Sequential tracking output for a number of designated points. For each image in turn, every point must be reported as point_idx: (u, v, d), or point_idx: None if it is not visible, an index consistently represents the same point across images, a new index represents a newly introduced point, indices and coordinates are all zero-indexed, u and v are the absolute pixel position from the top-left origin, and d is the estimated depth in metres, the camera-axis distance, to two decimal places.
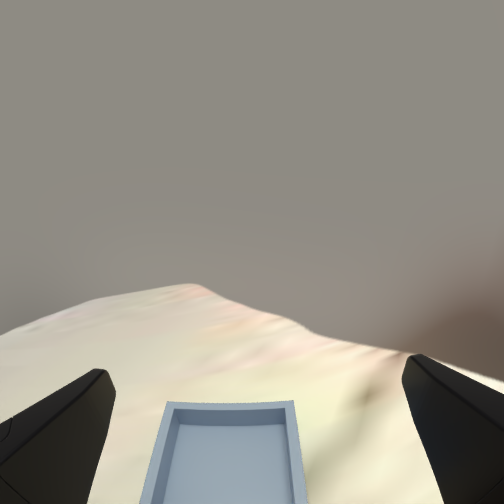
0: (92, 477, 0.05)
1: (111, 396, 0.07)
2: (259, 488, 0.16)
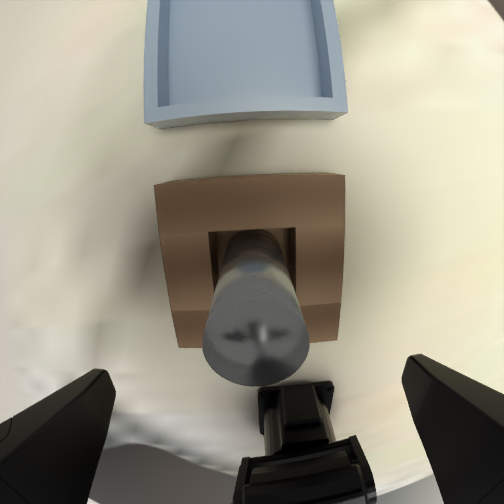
0: (92, 476, 0.05)
1: (111, 396, 0.07)
2: (280, 38, 0.15)
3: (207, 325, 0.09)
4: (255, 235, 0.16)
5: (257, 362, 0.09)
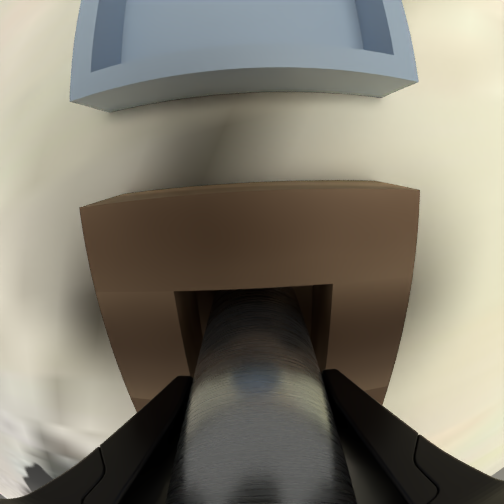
0: None
1: None
2: None
3: None
4: (259, 292, 0.09)
5: None
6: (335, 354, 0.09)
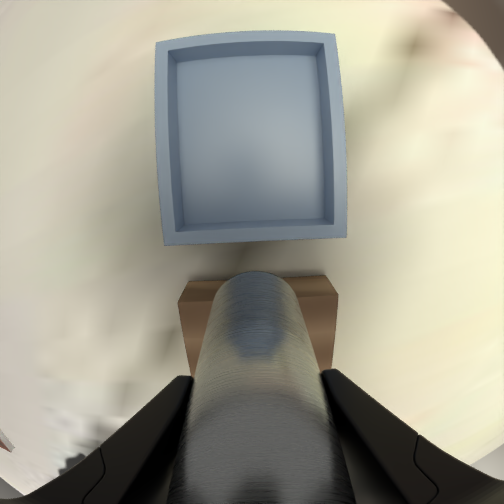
0: None
1: None
2: (288, 147, 0.18)
3: None
4: (259, 293, 0.09)
5: None
6: None
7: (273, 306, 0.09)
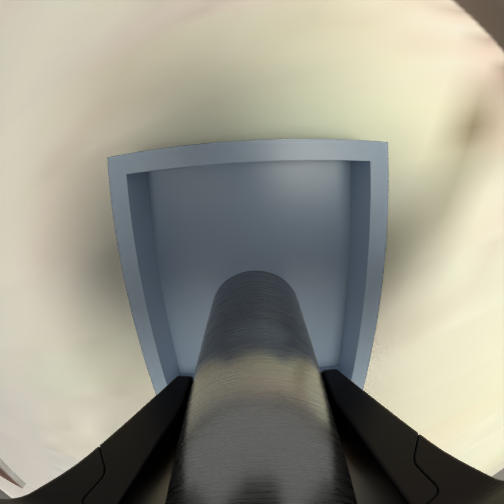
0: None
1: None
2: (303, 297, 0.14)
3: None
4: (259, 293, 0.09)
5: None
6: None
7: (273, 305, 0.09)
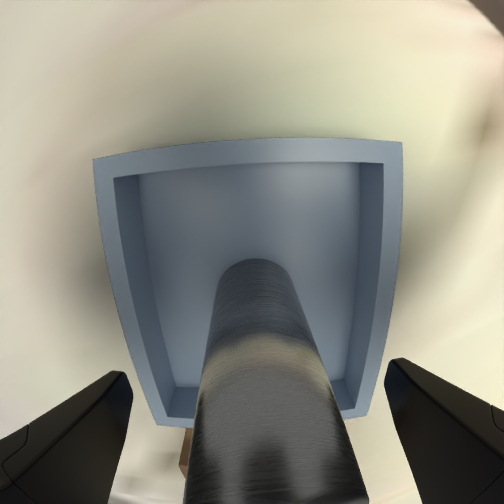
0: (111, 482, 0.05)
1: (129, 398, 0.07)
2: (307, 310, 0.13)
3: None
4: (260, 276, 0.11)
5: None
6: None
7: (273, 286, 0.10)
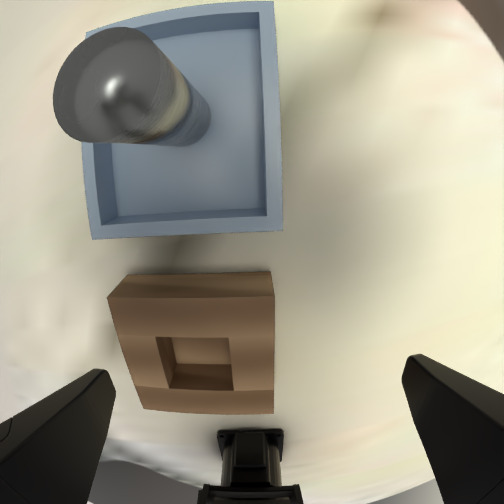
0: (92, 476, 0.05)
1: (111, 396, 0.07)
2: (222, 130, 0.16)
3: (62, 68, 0.06)
4: None
5: (100, 101, 0.06)
6: (236, 369, 0.18)
7: None
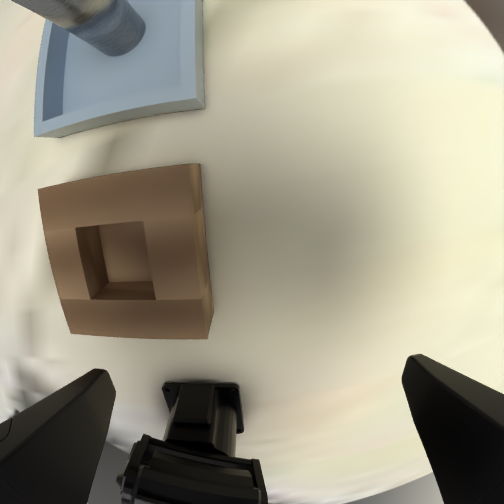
0: (92, 476, 0.05)
1: (111, 396, 0.07)
2: (154, 37, 0.14)
3: None
4: None
5: None
6: (154, 266, 0.15)
7: None
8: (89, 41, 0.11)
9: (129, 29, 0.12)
